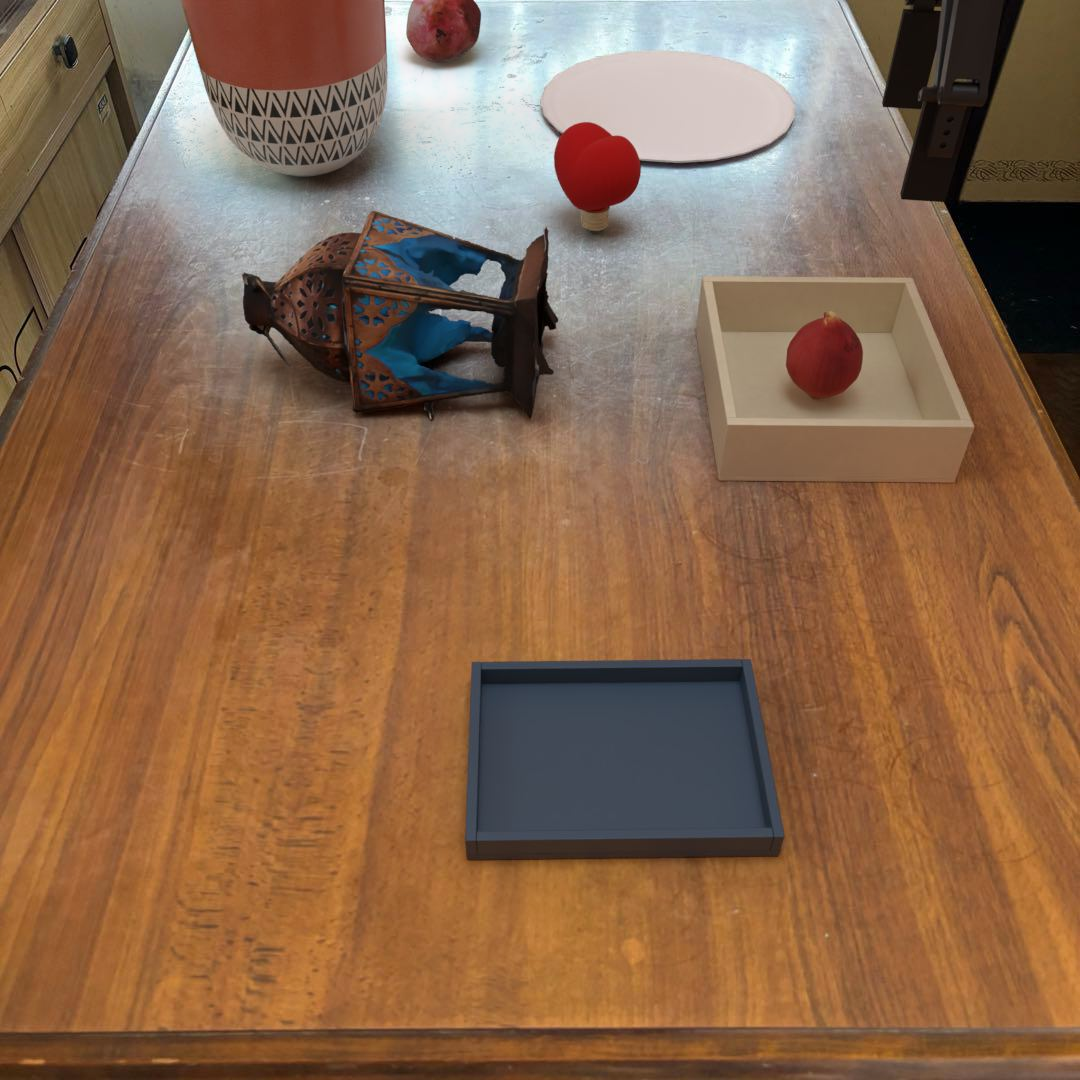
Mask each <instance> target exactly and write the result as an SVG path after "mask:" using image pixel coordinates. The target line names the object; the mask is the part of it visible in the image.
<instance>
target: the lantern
mask: <svg viewBox="0 0 1080 1080" xmlns="http://www.w3.org/2000/svg"><path fill="white" fill-rule="evenodd" d="M542 229H543V234H541V235H539V236H538V237H536V238H535V239H534V240H533V241H531V243H530V245H529V246H528V247H527V248H526V249H525V255H524V257H523V258H522V259H518V258H516V257H513V256H512V255H510V254H508V253H503V252H500V251H497V250H494V249H490V248H488V247H485V246H483V245H481V244H477V243H473V242H471V241H469V240H466V239H462V238H459V237H453V236H452V235H450V234H447V233H444V232H441V231H438V230H435V229H432V228H429V227H427V226H423V225H420V224H417V223H413V222H409V221H407V220H405V219H401V218H399V217H394V216H391V215H388V214H385V213H383V212H380V211H375V210H370V212H369V213H368V214H367V219H366V221H365V223H364V226H363V227H362V231H361V232H352V231H349V232H348V231H347V232H340V233H337V234H334V235H330V236H328V237H326V238H325V239H322V240H321V241H319V242H317V243H316V244H315V245H314V246H313V247H311V248H309V250H308V251H307V252H306V253H305V254H304V255H302V257H300V258H299V259H298V261H296V262H295V263H294V264H293V265H292V267H291V268H289V270H288V271H287V272H286V273H285V274H284V275H283V276H282V277H281V278H280V279H278V280H277V281H267V280H262V279H261V277H260V276H258V275H254V274H252V273H247V272H242V273H241V277H242V281H243V296H242V310H243V316H244V321H245V322H246V324H247V325H248V328H249V330H251V331H253V332H254V333H256V334H258V335H263V336H264V337H266V339H267V340H268V341H269V344H270V345H271V347H272V348H273V350H274V351H275V352H276V353H277V355H278V356H279V357H280V358H281V359H282V360H283V362H284V363H285V364H286V366H289V367H290V366H292V362H290V361H288V359H287V358H286V357H285V356H284V354H283V353H282V351H281V349H280V347H279V346H278V344H276V343H275V341H274V339H273V338H272V337H271V335H270V331H271V328H273V329H275V330H276V331H277V332H278V333H279V334H280V335H281V336H282V337H283V338H284V340H286V341H287V342H288V344H289V345H291V346H292V347H293V348H294V349H295V350H296V351H297V352H298V353H299V355H301V356H302V357H303V358H304V360H306V361H307V362H308V363H309V364H310V365H311V366H312V367H313V368H314V369H316V370H317V371H319V372H320V373H322V374H323V375H325V376H327V377H329V378H331V379H333V380H335V381H339V382H341V383H350V388H351V389H350V390H351V408H352V412H353V413H354V414H363V413H369V412H374V411H382V410H389V409H398V408H404V407H406V406H409V405H418V404H421V403H422V404H424V406H423V410H424V411H427V415H428V419H429V420H430V421H433V420H434V416H435V411H434V408H433V405H434V404H435V403H439V402H441V401H447V400H455V399H458V398H464V397H472V396H473V397H474V396H480V395H484V394H496V393H508V394H510V395H511V397H512V398H513V399H514V400H515V401H516V402H517V403H518V404H519V406H521V408H522V410H523V412H524V413H525V414H526V416H527V417H528V419H529V420H531V419H532V417H533V413H534V407H535V400H536V394H537V388H538V387H537V386H538V382H539V380H540V376H544V375H549V376H554V374H555V371H554V370H553V368H551V367H550V365H549V363H548V360H547V359H546V357H545V355H544V352H543V351H544V341H543V336H544V332H545V329H546V327H548V330H549V331H553V330H556V329H557V323H558V322H559V318H558V316H557V315H556V313H555V311H554V310H553V308H552V306H551V305H550V303H549V301H548V300H549V297H550V296H549V295H548V291H547V281H548V275H549V272H548V268H549V245H550V242H549V229H548V226H546V225H544V226H542ZM487 261H490V262H495V263H498V264H499V265H500V270H501V272H502V273H503V274H504V277H505V278H504V279H505V280H504V281H503V284H502V286H501V287H500V288H501V289H500V292H499V296H498V297H493V296H488V295H484V294H477V293H476V292H472V291H466V290H464V289H461V290H456V289H455V288H453V287H451V286H452V285H453V284H454V283H457V282H458V281H459V279H460V278H461V277H462V276H464V275H475V276H478V274H480V272H481V271H482V267H483V265H485V263H486V262H487ZM436 310H440V311H451V310H456V311H468V312H473V313H474V312H483V313H486V314H488V315H489V314H490V315H493V319H492V323H491V326H490V327H491V329H490V330H491V331H490V330H489V329H488V328H486V327H483V326H476V325H475V326H474V325H471V324H472V322H471V321H468V320H464V319H461V318H460V319H458V320H450V319H449V318H448V317H447V316H445V315H441V314H439V313H432V312H434V311H436ZM466 342H467V343H469V342H470V343H490V353H491V357H492V359H493V360H494V364H495V365H496V366H498V367H499V368H503V378H502V382H498V383H493V382H486V381H485V380H480V379H479V380H478V379H476V378H474V379H468V378H463V377H458V376H456V375H451V374H449V373H447V372H445V371H444V370H442V371H441V370H440V371H435V370H432V369H430V367H426V366H423V365H421V364H422V363H425V362H429V361H431V360H433V359H436V358H438V357H440V356H442V355H444V354H445V353H447V352H449V351H450V350H453V349H454V348H455V347H457V346H459V345H460V346H461V345H462V344H464V343H466Z"/></svg>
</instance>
